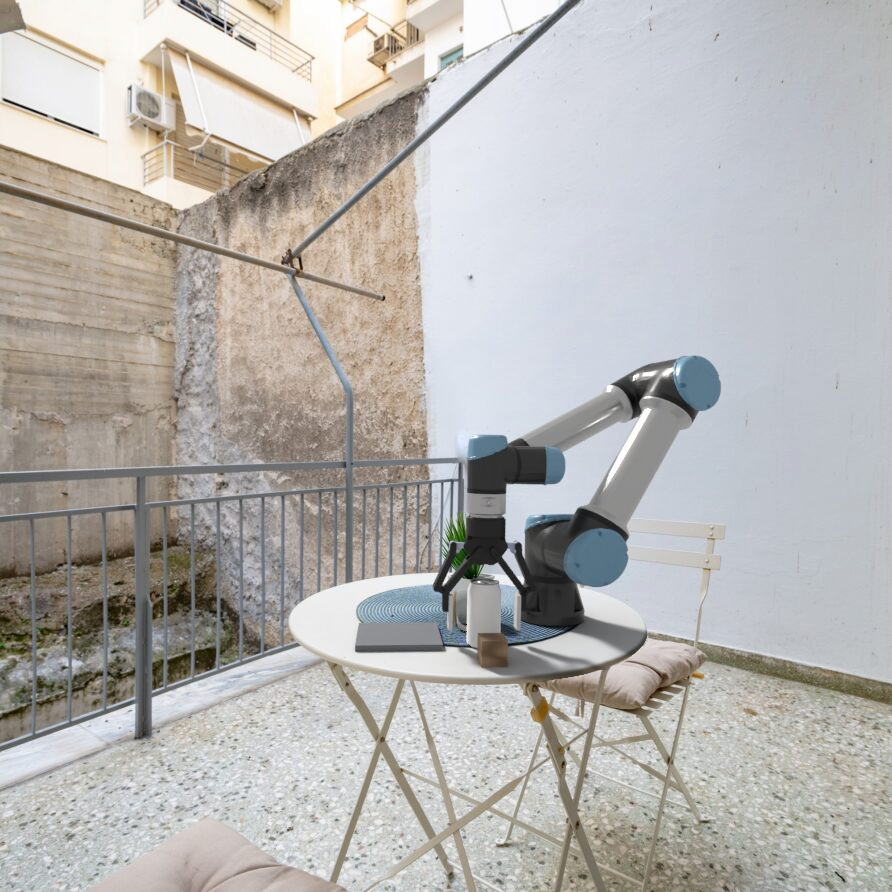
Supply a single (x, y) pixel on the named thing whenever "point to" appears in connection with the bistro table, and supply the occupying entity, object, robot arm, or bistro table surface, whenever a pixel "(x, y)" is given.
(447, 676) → the bistro table surface
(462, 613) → the ceramic mug
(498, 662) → the walnut block
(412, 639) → the mat
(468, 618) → the can
